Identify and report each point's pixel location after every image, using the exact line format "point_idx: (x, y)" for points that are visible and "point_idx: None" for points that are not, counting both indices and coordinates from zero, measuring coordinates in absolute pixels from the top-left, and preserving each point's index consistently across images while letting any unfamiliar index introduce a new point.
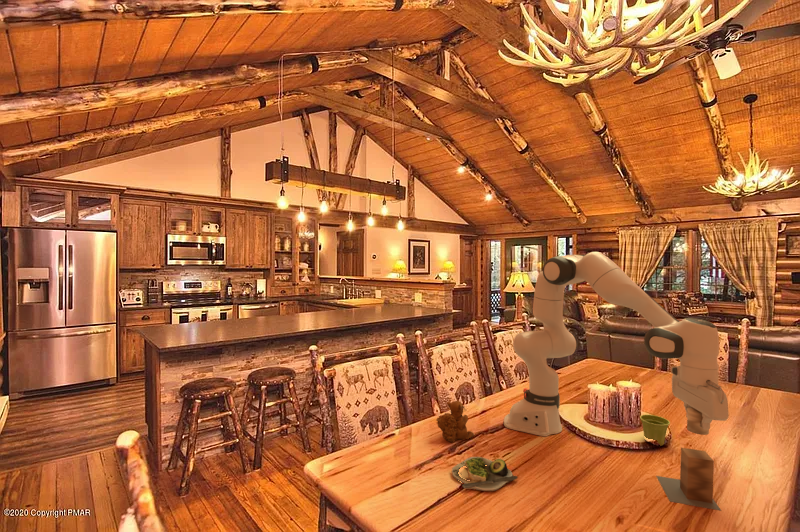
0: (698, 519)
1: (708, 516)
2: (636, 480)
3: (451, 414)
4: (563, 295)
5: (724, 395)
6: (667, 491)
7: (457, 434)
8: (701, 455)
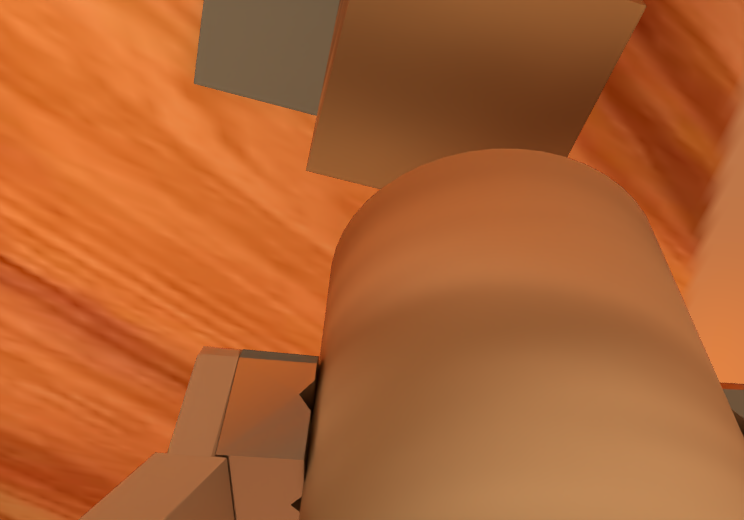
0: (683, 96)
1: (670, 12)
2: (271, 218)
3: None
4: None
5: None
6: None
7: None
8: (500, 65)
